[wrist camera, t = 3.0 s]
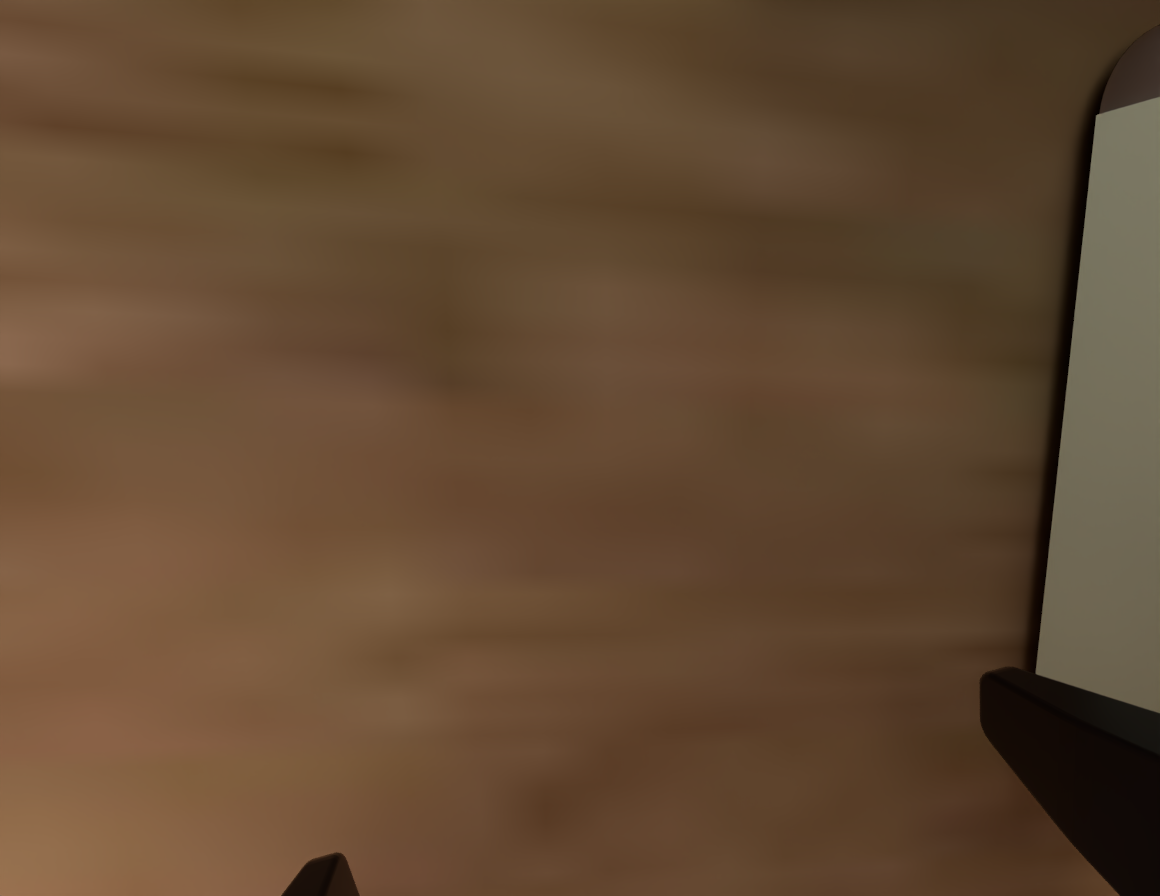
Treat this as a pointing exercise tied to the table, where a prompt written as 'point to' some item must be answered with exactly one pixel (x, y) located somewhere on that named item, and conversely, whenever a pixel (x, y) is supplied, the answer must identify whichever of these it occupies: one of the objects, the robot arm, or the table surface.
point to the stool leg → (1113, 413)
